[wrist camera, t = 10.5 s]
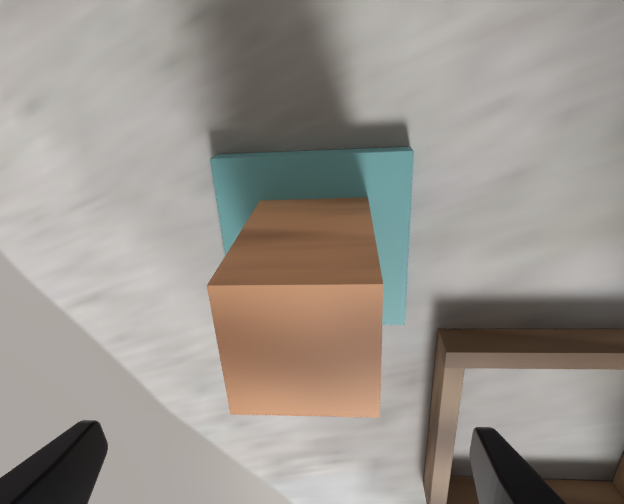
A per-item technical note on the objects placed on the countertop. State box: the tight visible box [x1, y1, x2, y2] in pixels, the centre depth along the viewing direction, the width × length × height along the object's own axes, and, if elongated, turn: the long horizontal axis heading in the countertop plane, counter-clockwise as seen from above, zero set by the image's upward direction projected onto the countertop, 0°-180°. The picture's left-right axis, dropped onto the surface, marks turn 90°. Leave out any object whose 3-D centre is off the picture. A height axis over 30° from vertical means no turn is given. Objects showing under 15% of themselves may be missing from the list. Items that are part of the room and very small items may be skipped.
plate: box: [210, 147, 414, 325], centre depth 20 cm, size 9×9×1 cm
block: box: [207, 197, 383, 417], centre depth 16 cm, size 5×5×8 cm
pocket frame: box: [423, 329, 624, 504], centre depth 23 cm, size 13×13×2 cm
